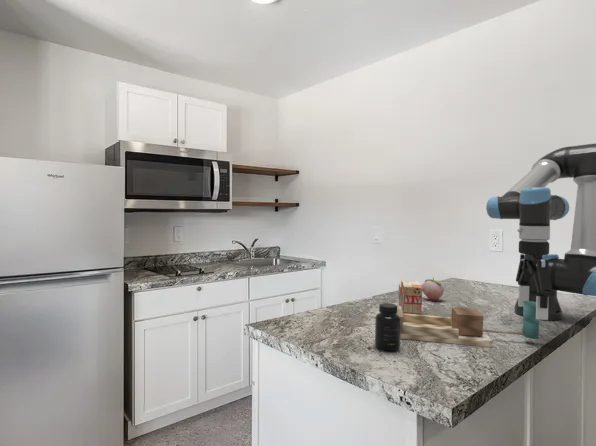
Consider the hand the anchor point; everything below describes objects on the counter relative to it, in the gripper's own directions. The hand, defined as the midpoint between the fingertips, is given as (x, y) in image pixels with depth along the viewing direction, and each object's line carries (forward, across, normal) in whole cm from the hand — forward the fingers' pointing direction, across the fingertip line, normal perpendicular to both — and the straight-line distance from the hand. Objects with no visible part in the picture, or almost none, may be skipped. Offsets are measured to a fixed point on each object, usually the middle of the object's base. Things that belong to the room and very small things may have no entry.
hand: (532, 312), depth 107 cm
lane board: (+9, 0, -25) cm, 27 cm away
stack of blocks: (+9, -24, -33) cm, 42 cm away
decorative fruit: (+10, -48, -21) cm, 54 cm away
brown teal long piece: (+7, 0, -10) cm, 12 cm away
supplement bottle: (+8, +16, -41) cm, 45 cm away
